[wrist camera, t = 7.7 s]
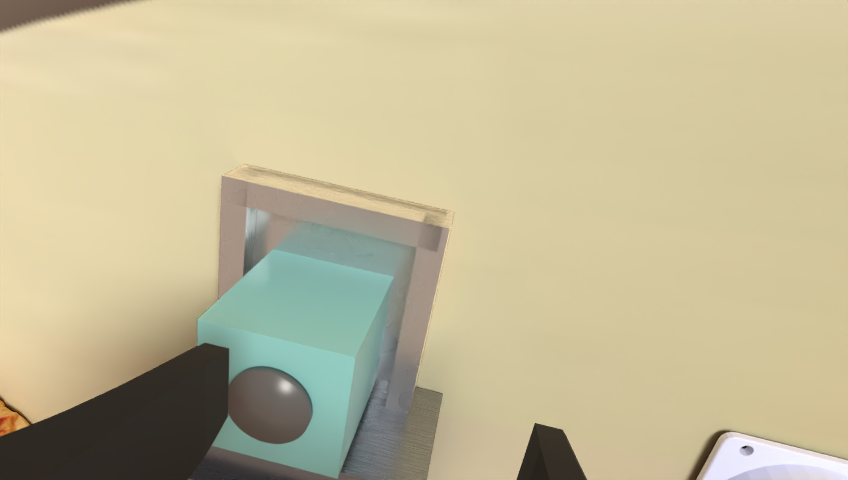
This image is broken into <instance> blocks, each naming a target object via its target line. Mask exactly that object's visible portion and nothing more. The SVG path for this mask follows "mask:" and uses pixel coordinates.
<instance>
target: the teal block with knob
mask: <svg viewBox="0 0 848 480" xmlns="http://www.w3.org/2000/svg"><path fill="white" fill-rule="evenodd" d="M393 278H394V277H391V276H387V275H383V274H378V273H374V272H370V271H365V270H361V269H357V268H352V267H348V266H344V265H339V264H335V263H331V262H326V261H322V260H318V259H313V258H309V257H305V256H300V255H296V254H292V253H287V252H283V251H279V250H274V249H273V250H272V251H271V252H270V253H269V254H267V255H266V256H265V257H264V258H263V259H262V260H261V261H260V262H259V263H258V264H257V265H256V266H254V267H253V268H252V269H251V270H250V271H249V272H248V273H247V274H246V275H245V276H244V277H243V278H241V279H240V280H239V281H238V282H237V283H236V284H235V285H234V286H233V287H232V288H231V289H229V290H228V291H227V292H226V293H225V294H224V295H223V296H222V297H221V298H220V299H219V300H218V301H216V302H215V303H214V304H213V305H212V306H211V307H210V308H209V309H208V310H207V311H206V312H205V313H203V314H202V315H201V316H200V317H199V318H198V319H197V346H199V345H201V344H203V343H209V344H213V345H217V346H221V347H225V348H229V388H228V417H227V419H226V421H225V423H224V424H223V426H222V428H221V430H220V432H219V433H218V435H217V437H216V439H215V440H214V442H213V444H212V446H215V447H218V448H222V449H226V450H230V451H234V452H237V453H241V454H245V455H249V456H253V457H256V458H260V459H264V460H268V461H272V462H275V463H279V464H283V465H287V466H291V467H294V468H298V469H302V470H306V471H310V472H313V473H317V474H321V475H325V476H329V477H332V478H336V479H338V476H339V474H340V471H341V469H342V466H343V464H344V461H345V458H346V456H347V453H348V451H349V448H350V445H351V443H352V440H353V438H354V435H355V433H356V430H357V427H358V425H359V422H360V420H361V417H362V414H363V412H364V409H365V407H366V404H367V402H368V399H369V396H370V394H371V391H372V389H373V386H374V383H375V381H376V378H377V372H378V367H379V361H380V355H381V349H382V343H383V337H384V331H385V325H386V320H387V314H388V308H389V302H390V296H391V290H392V284H393Z"/></svg>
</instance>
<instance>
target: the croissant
mask: <svg viewBox="0 0 848 480" xmlns="http://www.w3.org/2000/svg"><path fill="white" fill-rule="evenodd" d="M29 425H30V424H29V423H28V422H27V421H26V420H25V419H24V418H23V417H22V416H20V415H19V414H18V413H16V412H12V411H10V410H9V409H8V408H6V407H5V405H4V403H3V402H2V401H1V400H0V436H2V435H5V434H8V433H11V432H13V431H16V430H19V429H21V428H24V427H27V426H29Z"/></svg>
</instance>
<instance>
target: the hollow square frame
mask: <svg viewBox="0 0 848 480" xmlns="http://www.w3.org/2000/svg"><path fill="white" fill-rule="evenodd" d="M454 213H455V212H452V211H447V210H443V209H439V208H434V207H430V206H426V205H421V204H417V203H413V202H408V201H404V200H400V199H395V198H391V197H387V196H382V195H378V194H374V193H369V192H365V191H361V190H356V189H352V188H347V187H343V186H339V185H334V184H330V183H326V182H321V181H317V180H313V179H308V178H304V177H300V176H295V175H291V174H287V173H282V172H278V171H274V170H269V169H265V168H261V167H256V166H252V165H248V164H244V165H242V166H240V167H238V168H236V169H234V170H232V171H230V172H228V173H226V174H224V175H222V189H221V221H220V254H219V286H218V300H219V299H220V298H221V297H222V296H223V295H224V294H225V293H226V292H227V291H228V290H229V289H231V288H232V287H233V286H234V285H235V284H236V283H237V282H238V281H239V280H240V279H241V278H243V277H244V276H245V275H246V274H247V273H248V272H249V271H250V270H251V269H252V268H253V267H254V266H256V265H257V264H258V263H259V262H260V261H261V260H262V259H263V258H264V257H265V256H266V255H267V254H269V253H270V252H271V251H272V250H273V249H274V250H279V251H283V252H287V253H292V254H296V255H300V256H305V257H309V258H313V259H318V260H322V261H326V262H331V263H335V264H339V265H344V266H348V267H352V268H357V269H361V270H365V271H370V272H374V273H378V274H383V275H387V276H391V277H394V278H393V284H392V290H391V296H390V302H389V308H388V314H387V320H386V325H385V331H384V337H383V343H382V349H381V355H380V361H379V367H378V372H377V378H376V381H375V383H374V386H373V389H372V391H371V394H370V396H369V399H368V402H367V404H366V407H365V409H364V412H363V414H362V417H361V420H360V422H359V425H358V427H357V430H356V433H355V435H354V438H353V440H352V443H351V445H350V448H349V451H348V453H347V456H346V458H345V461H344V464H343V466H342V469H341V471H340V474H339V476H338V479H336V478H332V477H329V476H325V475H321V474H317V473H313V472H310V471H306V470H302V469H298V468H294V467H291V466H287V465H283V464H279V463H275V462H272V461H268V460H264V459H260V458H256V457H253V456H249V455H245V454H241V453H237V452H234V451H230V450H226V449H222V448H218V447H215V446H211V447H210V449H209V451H208V452H207V454H206V456H205V457H204V458H203V460H202V461H201V463H200V464H199V465H198V467H197V468H196V469H195V471H194V472H193V473H192V475H191V476H190V478H189V479H188V480H427V475H428V469H429V464H430V459H431V454H432V448H433V443H434V438H435V432H436V427H437V422H438V416H439V411H440V406H441V400H442V395H443V394H442V393H438V392H434V391H430V390H426V389H422V388H418V387H416V383H417V378H418V374H419V369H420V365H421V361H422V356H423V352H424V347H425V343H426V338H427V334H428V329H429V325H430V320H431V316H432V311H433V307H434V302H435V298H436V294H437V289H438V285H439V280H440V276H441V271H442V267H443V262H444V258H445V253H446V249H447V244H448V240H449V235H450V231H451V226H452V222H453V218H454Z"/></svg>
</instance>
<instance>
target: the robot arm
mask: <svg viewBox="0 0 848 480" xmlns="http://www.w3.org/2000/svg"><path fill="white" fill-rule="evenodd" d="M228 388H229V348H225V347H221V346H217V345H213V344H209V343H203V344H201V345H199V346H197V347H195V348H193V349H191V350H189V351H187V352H185V353H183V354H181V355H179V356H177V357H175V358H173V359H171V360H169V361H168V362H166V363H164V364H162V365H160V366H158V367H156V368H154V369H152V370H150V371H148V372H146V373H144V374H142V375H140V376H138V377H136V378H134V379H132V380H130V381H128V382H126V383H125V384H123V385H121V386H118V387H116V388H114V389H112V390H110V391H108V392H106V393H103V394H101V395H99V396H97V397H95V398H93V399H90V400H88V401H86V402H84V403H82V404H80V405H77V406H75V407H73V408H71V409H69V410H66V411H64V412H62V413H59V414H57V415H55V416H52V417H50V418H47V419H45V420H42V421H40V422H37V423H34V424H32V425H29V426H27V427H24V428H21V429H19V430H16V431H13V432H11V433H8V434H5V435H2V436H0V480H188V479H189V478H190V476H191V475H192V473H193V472H194V471H195V469H196V468H197V467H198V465H199V464H200V463H201V461H202V460H203V458H204V457H205V456H206V454H207V452H208V451H209V449H210V447H211V446H212V444H213V442H214V440H215V439H216V437H217V435H218V433H219V432H220V430H221V428H222V426H223V424H224V423H225V421H226V419H227V417H228ZM743 446H748V447H747V448H744V449H742V447H743ZM517 480H587V479H586V477H585V475H584V473H583V471H582V469H581V466H580V464H579V462H578V460H577V458H576V456H575V454H574V452H573V450H572V447H571V445H570V443H569V441H568V439H567V437H566V435H565V433H564V431H563V430H561V429H557V428H553V427H549V426H545V425H541V424H537V423H535V425H534V428H533V431H532V434H531V437H530V440H529V443H528V446H527V449H526V453H525V456H524V459H523V462H522V465H521V468H520V471H519V474H518V477H517ZM696 480H848V460H844V459H840V458H836V457H832V456H828V455H824V454H821V453H817V452H813V451H809V450H805V449H801V448H797V447H793V446H789V445H785V444H781V443H777V442H773V441H769V440H765V439H761V438H757V437H753V436H749V435H745V434H741V433H737V432H727V433H724V434H723V435H721V436H720V437H719V439H718V441H717V442H716V444H715V446H714V448H713V450H712V452H711V453H710V455H709V457H708V459H707V461H706V463H705V464H704V466H703V468H702V470H701V472H700V474H699V476H698V477H697V479H696Z"/></svg>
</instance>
